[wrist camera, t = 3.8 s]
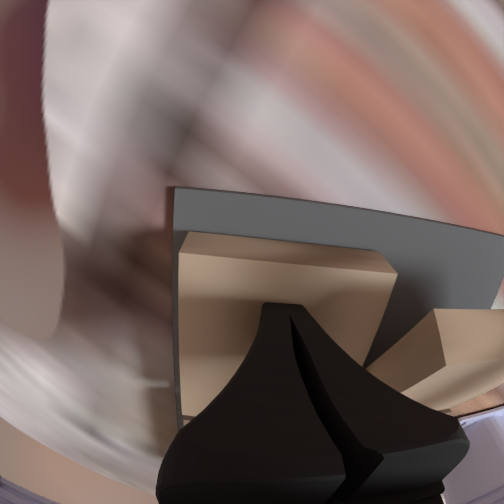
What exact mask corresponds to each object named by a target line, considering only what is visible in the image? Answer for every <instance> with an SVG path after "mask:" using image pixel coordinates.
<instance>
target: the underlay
mask: <svg viewBox="0 0 504 504" xmlns="http://www.w3.org/2000/svg"><path fill="white" fill-rule="evenodd" d="M189 231H191V232H201V233H211V234H221V235H231V236H241V237H251V238H260V239H270V240H279V241H289V242H298V243H307V244H316V245H325V246H334V247H343V248H352V249H361V250H369V251H378V252H380V253H381V254H382V256H383V257H384V258H385V259H386V260H387V261H388V263H389V264H390V265H391V266H392V267H393V269H394V270H395V271H396V272H397V274H398V275H397V278H396V281H395V284H394V286H393V289H392V292H391V295H390V298H389V301H388V303H387V306H386V309H385V312H384V314H383V317H382V320H381V322H380V325H379V327H378V330H377V332H376V335H375V337H374V340H373V342H372V345H371V347H370V349H369V352H368V354H367V357H366V359H365V361H364V363H363V366H362V367H363V368H365V369H366V368H367V367H368V366H369V365H371V364H372V363H373V362H374V361H375V360H377V359H378V358H379V357H380V356H382V355H383V354H384V353H385V352H386V351H387V350H389V349H390V348H391V347H392V346H393V345H394V344H396V343H397V342H398V341H399V340H400V339H401V338H402V337H404V336H405V335H406V334H407V333H408V332H409V331H410V330H411V329H412V328H414V327H415V326H416V325H417V324H418V323H419V322H420V321H421V320H422V319H423V318H424V317H425V316H426V315H427V314H428V313H430V312H431V311H432V310H433V309H491V307H492V304H493V302H494V300H495V298H496V295H497V293H498V290H499V288H500V285H501V283H502V280H503V278H504V235H500V234H496V233H491V232H487V231H482V230H478V229H473V228H468V227H463V226H459V225H454V224H449V223H444V222H439V221H433V220H428V219H423V218H417V217H412V216H406V215H401V214H395V213H389V212H383V211H377V210H371V209H365V208H358V207H352V206H345V205H338V204H332V203H325V202H317V201H310V200H302V199H295V198H287V197H279V196H270V195H261V194H252V193H243V192H234V191H224V190H213V189H202V188H190V187H178V186H176V187H175V194H174V216H173V250H172V321H173V354H174V376H175V393H176V407H177V420H178V432H179V430H180V429H181V428H182V427H184V421H183V419H184V415H182V406H181V388H180V364H179V322H178V273H179V251H180V249H181V247H182V245H183V242H184V240H185V238H186V236H187V234H188V232H189Z"/></svg>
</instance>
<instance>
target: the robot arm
mask: <svg viewBox="0 0 504 504" xmlns="http://www.w3.org/2000/svg"><path fill="white" fill-rule="evenodd" d="M442 493H443V495H444V498H445V501H446V504H504V406H501V407H498V408H494V409H491V410H487V411H484V412H480V413H476V414H472V415H468V416H464V417H460V418H458V419H457V418H455V417H453V416H450V415H447V414H445V413H442V412H439V411H437V410H434V409H432V408H429V407H427V406H425V405H423V404H421V403H419V402H417V401H415V400H413V399H411V398H409V397H407V396H405V395H403V394H401V393H400V392H398V391H396V390H395V389H393V388H392V387H390V386H388V385H387V384H385V383H384V382H382V381H381V380H379V379H378V378H376V377H375V376H374V375H372V374H371V373H370V372H368V371H367V370H366V369H365V368H363V367H362V366H361V365H359V364H358V363H357V362H356V361H355V360H354V359H352V358H351V357H350V356H349V355H348V354H347V353H346V352H345V351H344V350H343V349H342V348H341V347H340V346H339V345H338V344H337V343H336V342H335V341H334V340H333V339H332V338H331V337H330V336H329V335H328V334H327V333H326V332H325V331H324V329H323V328H322V327H321V326H320V325H319V324H318V323H317V321H316V320H315V319H314V318H313V317H312V316H311V314H310V313H309V312H308V311H307V310H306V309H305V307H304V306H303V305H299V304H285V303H272V302H265V303H264V304H262V310H261V316H260V322H259V328H258V332H257V334H256V337H255V339H254V341H253V343H252V345H251V347H250V349H249V351H248V353H247V355H246V357H245V359H244V360H243V362H242V364H241V365H240V367H239V368H238V370H237V371H236V373H235V374H234V375H233V377H232V378H231V379H230V381H229V382H228V383H227V385H226V386H225V387H224V388H223V390H222V391H221V392H220V393H219V394H218V395H217V396H216V397H215V398H214V399H213V400H212V401H211V402H210V403H209V405H208V406H207V407H206V408H205V409H204V410H202V411H201V412H200V413H199V414H198V415H197V416H196V417H194V418H193V419H192V420H191V421H190V422H188V423H187V424H186V425H185V426H184V427H182V428H181V429H180V430H179V432H178V434H177V435H176V437H175V439H174V440H173V442H172V444H171V445H170V447H169V449H168V451H167V453H166V455H165V457H164V459H163V461H162V464H161V467H160V470H159V473H158V479H157V485H156V497H157V500H158V502H159V504H444V503H443V500H442V498H441V495H440V494H442ZM0 504H59V503H57V502H55V501H52V500H49V499H47V498H45V497H43V496H40V495H38V494H36V493H33V492H31V491H29V490H27V489H25V488H23V487H20V486H18V485H16V484H14V483H12V482H10V481H8V480H6V479H5V478H3V477H1V476H0Z"/></svg>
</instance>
